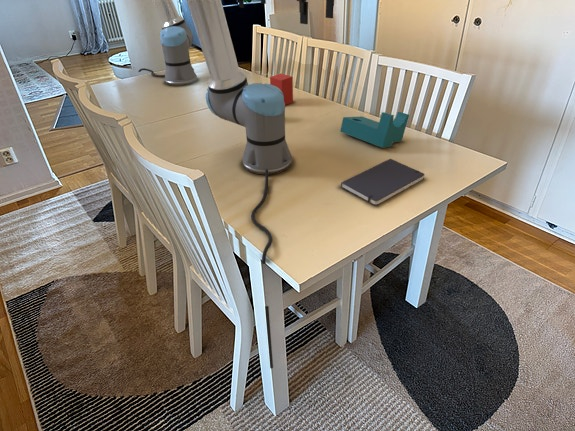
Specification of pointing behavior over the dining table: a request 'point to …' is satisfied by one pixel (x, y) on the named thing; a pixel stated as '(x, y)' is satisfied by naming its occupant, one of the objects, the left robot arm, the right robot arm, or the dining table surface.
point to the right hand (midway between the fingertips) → (316, 20)
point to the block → (284, 86)
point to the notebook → (382, 181)
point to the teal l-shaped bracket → (376, 128)
